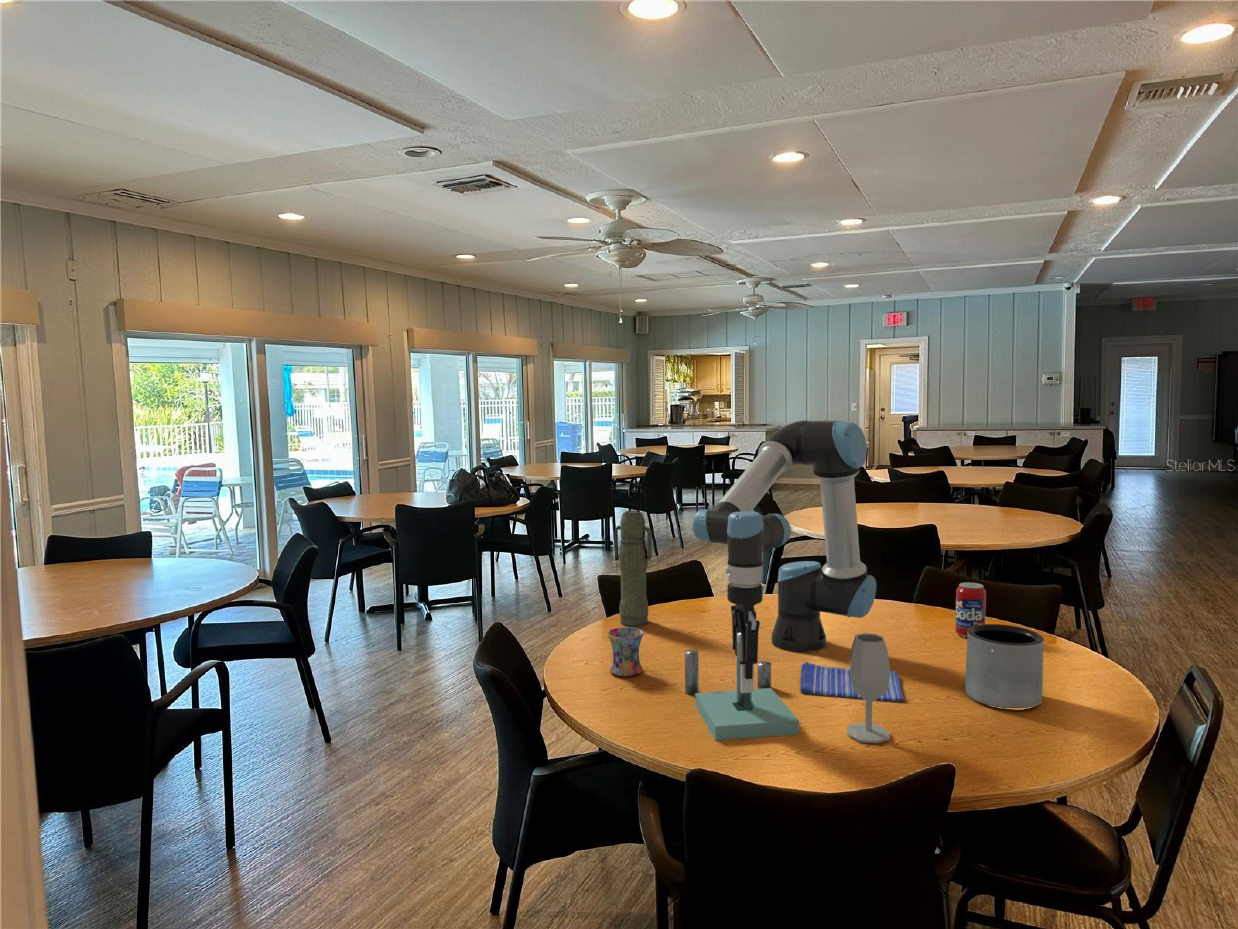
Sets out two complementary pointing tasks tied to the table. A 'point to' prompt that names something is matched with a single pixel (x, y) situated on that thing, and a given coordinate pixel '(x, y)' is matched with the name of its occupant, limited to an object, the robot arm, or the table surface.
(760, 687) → the short pin
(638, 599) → the thermos
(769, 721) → the hole block
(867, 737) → the wineglass
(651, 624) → the table surface
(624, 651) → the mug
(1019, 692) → the planter
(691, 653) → the medium pin
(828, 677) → the dish towel
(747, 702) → the long pin
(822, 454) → the robot arm
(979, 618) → the soda can
